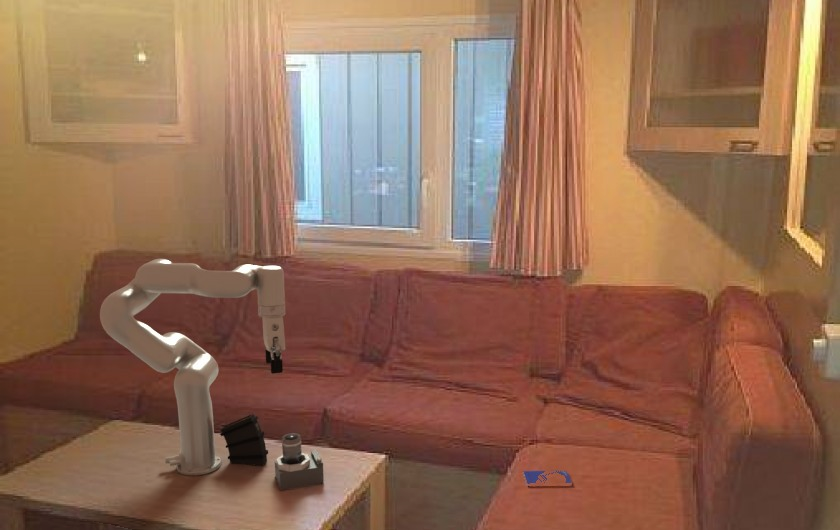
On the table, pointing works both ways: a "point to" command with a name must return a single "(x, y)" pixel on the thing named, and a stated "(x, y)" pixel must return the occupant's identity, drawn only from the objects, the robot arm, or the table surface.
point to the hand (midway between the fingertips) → (274, 367)
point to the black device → (245, 441)
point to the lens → (291, 449)
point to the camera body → (299, 472)
